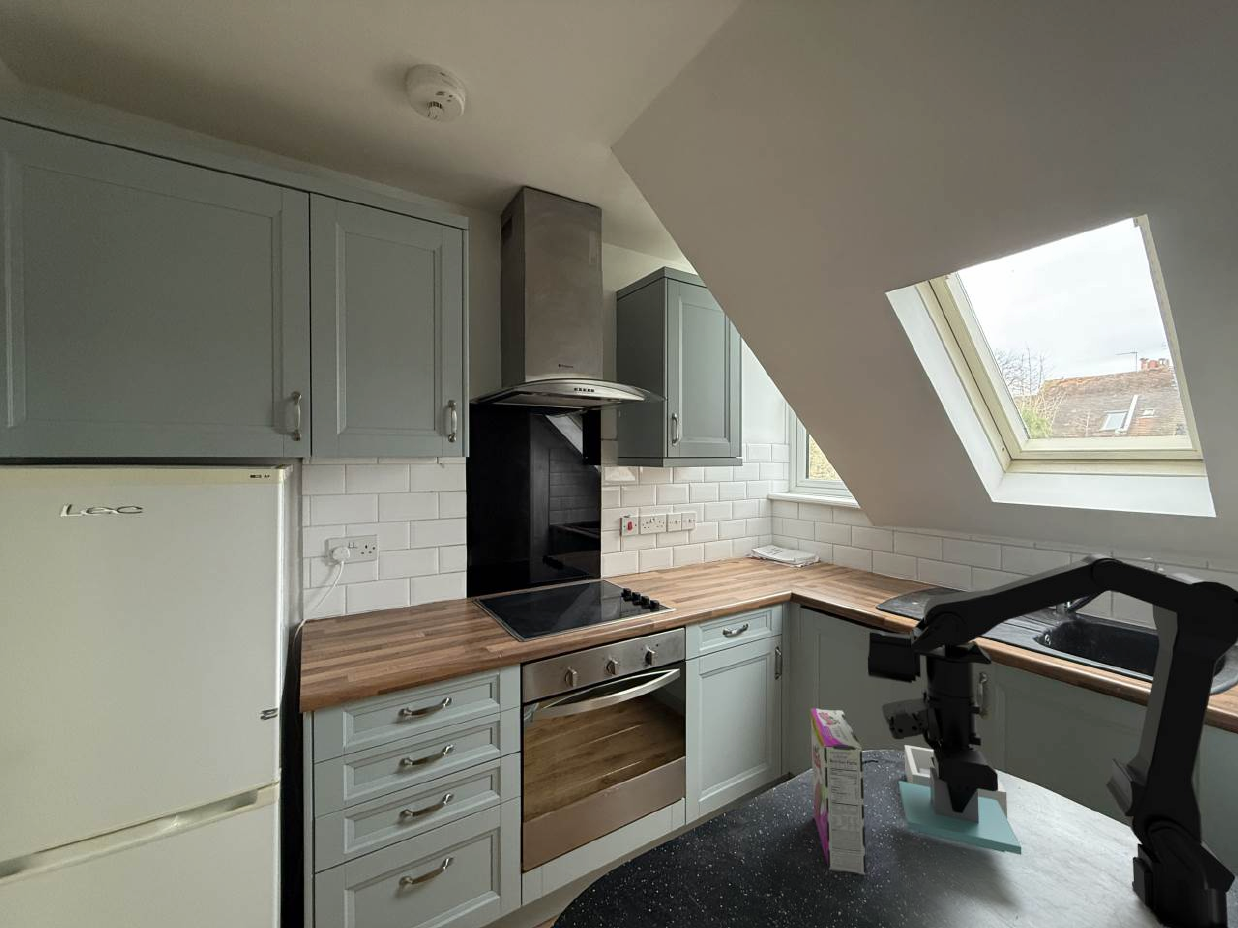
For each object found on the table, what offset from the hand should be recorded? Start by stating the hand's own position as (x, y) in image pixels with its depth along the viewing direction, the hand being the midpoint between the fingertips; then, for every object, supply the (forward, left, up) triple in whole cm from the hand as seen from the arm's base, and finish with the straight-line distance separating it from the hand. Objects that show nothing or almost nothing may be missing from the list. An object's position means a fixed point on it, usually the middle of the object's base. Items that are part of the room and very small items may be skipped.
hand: (954, 803), depth 70 cm
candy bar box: (+15, +5, -6) cm, 17 cm away
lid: (0, 0, -3) cm, 3 cm away
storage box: (-2, -13, -6) cm, 14 cm away
